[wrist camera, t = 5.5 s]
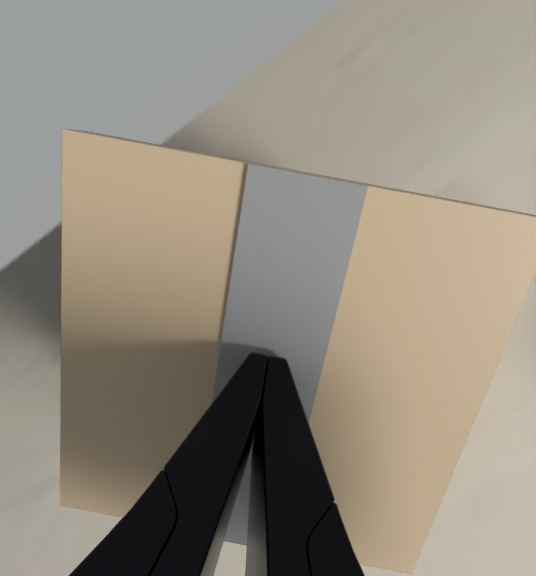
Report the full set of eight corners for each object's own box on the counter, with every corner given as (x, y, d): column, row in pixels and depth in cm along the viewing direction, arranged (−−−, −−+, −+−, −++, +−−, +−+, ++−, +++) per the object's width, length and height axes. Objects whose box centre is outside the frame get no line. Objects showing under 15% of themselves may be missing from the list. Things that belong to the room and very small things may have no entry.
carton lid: (403, 544, 12) (412, 577, 11) (76, 480, 12) (58, 508, 11) (532, 214, 9) (560, 221, 8) (84, 130, 9) (59, 128, 8)
